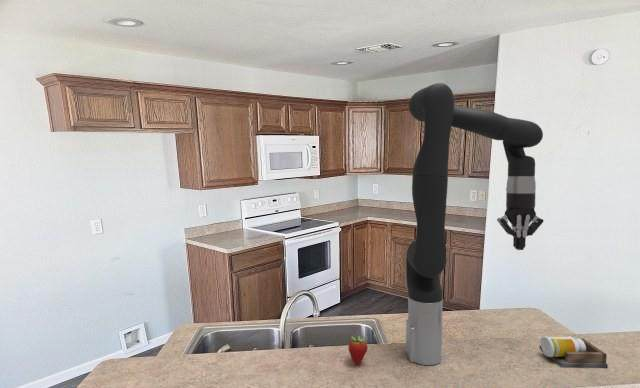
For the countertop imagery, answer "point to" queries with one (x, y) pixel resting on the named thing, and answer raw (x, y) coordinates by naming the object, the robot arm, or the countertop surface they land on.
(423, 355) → the robot arm
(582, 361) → the u rest
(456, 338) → the countertop surface
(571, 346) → the supplement bottle
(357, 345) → the fruit
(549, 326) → the countertop surface
